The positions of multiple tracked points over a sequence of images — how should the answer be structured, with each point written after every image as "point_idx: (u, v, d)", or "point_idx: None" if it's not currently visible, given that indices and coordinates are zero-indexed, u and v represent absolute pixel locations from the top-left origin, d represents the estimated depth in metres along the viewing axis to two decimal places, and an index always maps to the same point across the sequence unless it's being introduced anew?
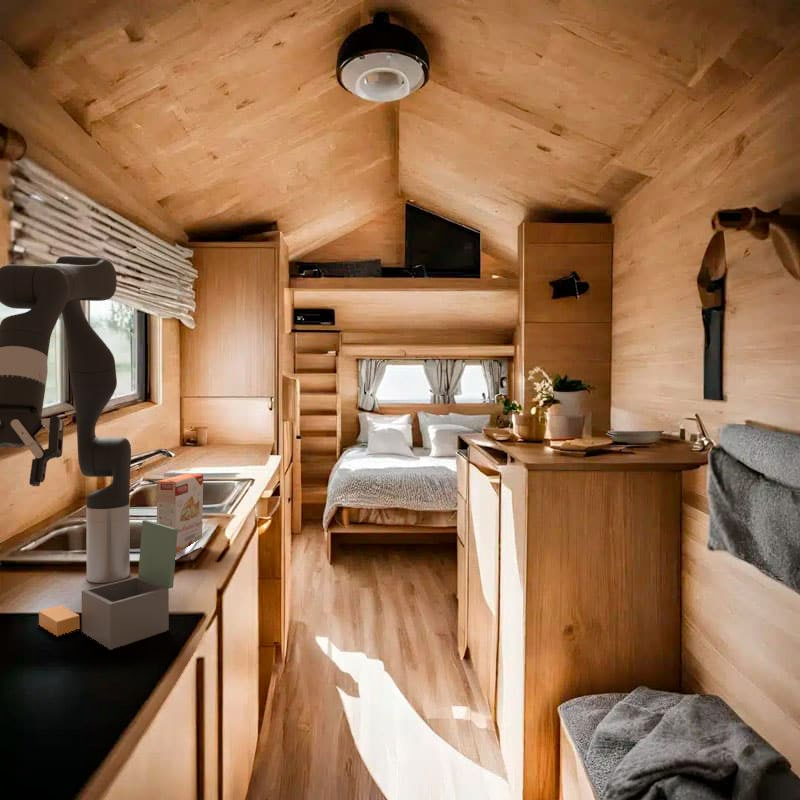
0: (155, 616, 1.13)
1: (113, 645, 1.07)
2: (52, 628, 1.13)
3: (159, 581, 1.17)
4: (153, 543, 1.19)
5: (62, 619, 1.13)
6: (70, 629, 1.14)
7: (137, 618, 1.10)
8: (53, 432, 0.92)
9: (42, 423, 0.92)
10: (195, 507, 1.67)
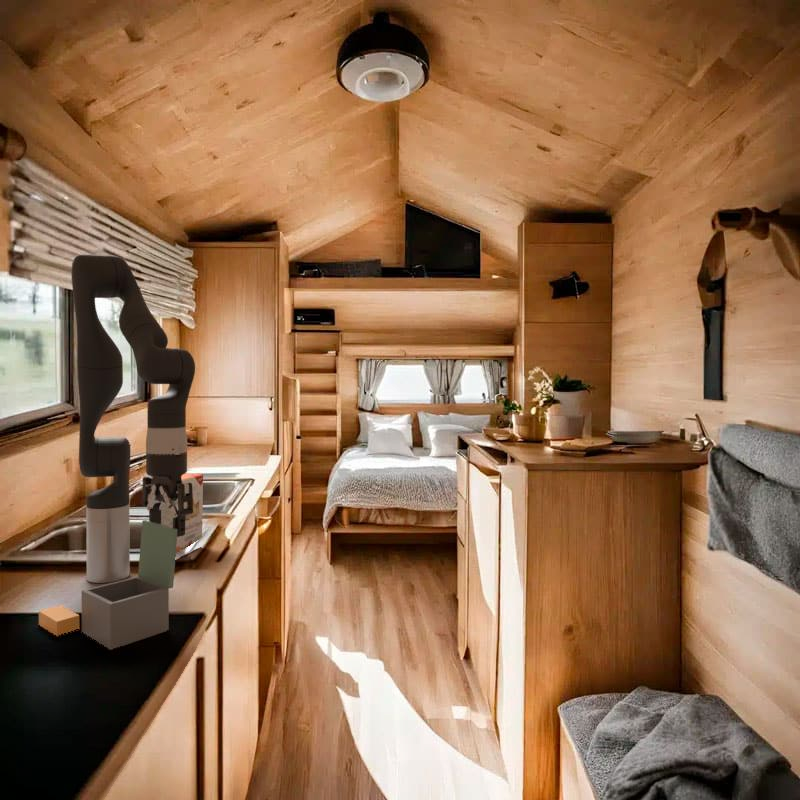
0: (155, 616, 1.13)
1: (113, 645, 1.07)
2: (52, 628, 1.13)
3: (159, 581, 1.17)
4: (153, 543, 1.19)
5: (62, 619, 1.13)
6: (70, 629, 1.14)
7: (137, 618, 1.10)
8: None
9: None
10: (195, 507, 1.67)
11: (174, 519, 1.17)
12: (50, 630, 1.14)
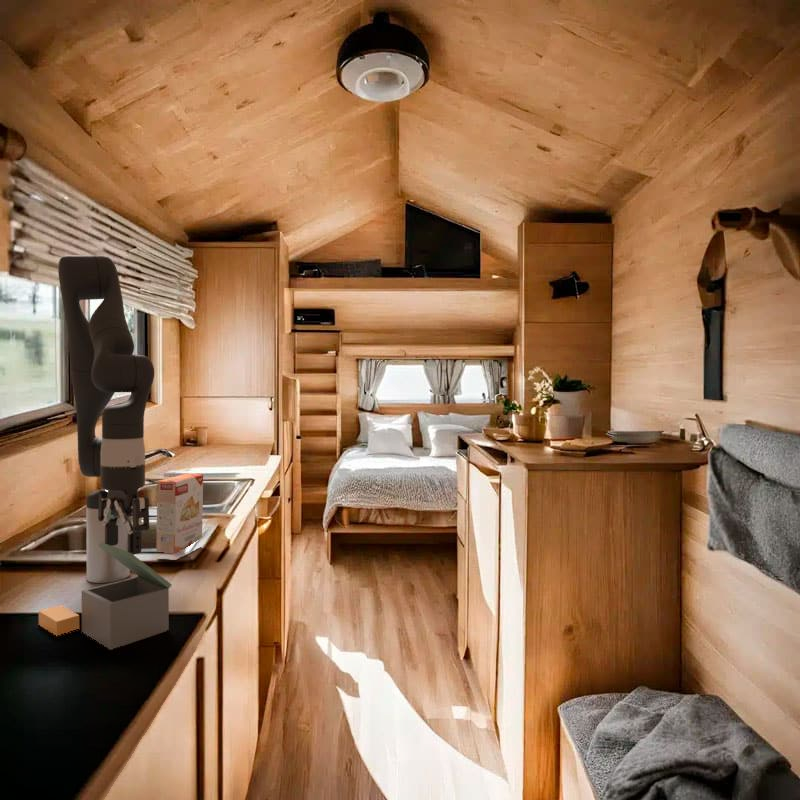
0: (155, 616, 1.13)
1: (113, 645, 1.07)
2: (51, 627, 1.13)
3: (157, 582, 1.17)
4: (124, 561, 1.15)
5: (62, 619, 1.13)
6: (70, 629, 1.14)
7: (137, 618, 1.10)
8: None
9: None
10: (195, 507, 1.67)
11: (129, 536, 1.10)
12: (50, 630, 1.14)
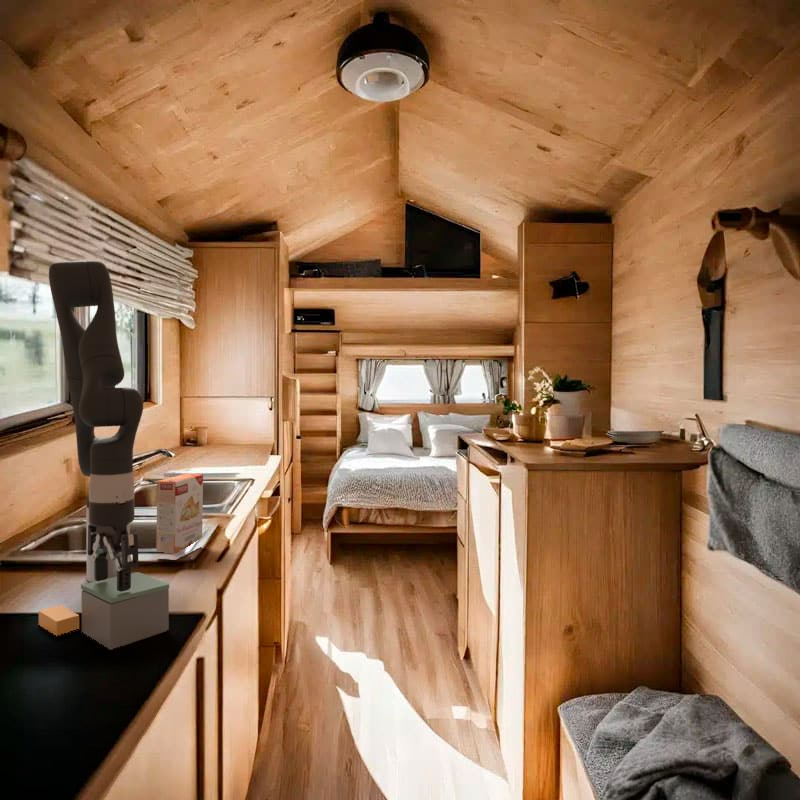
0: (155, 616, 1.13)
1: (113, 645, 1.07)
2: (51, 627, 1.13)
3: None
4: None
5: (62, 619, 1.13)
6: (70, 629, 1.14)
7: (137, 618, 1.10)
8: None
9: None
10: (195, 507, 1.67)
11: (118, 572, 1.09)
12: (50, 630, 1.14)
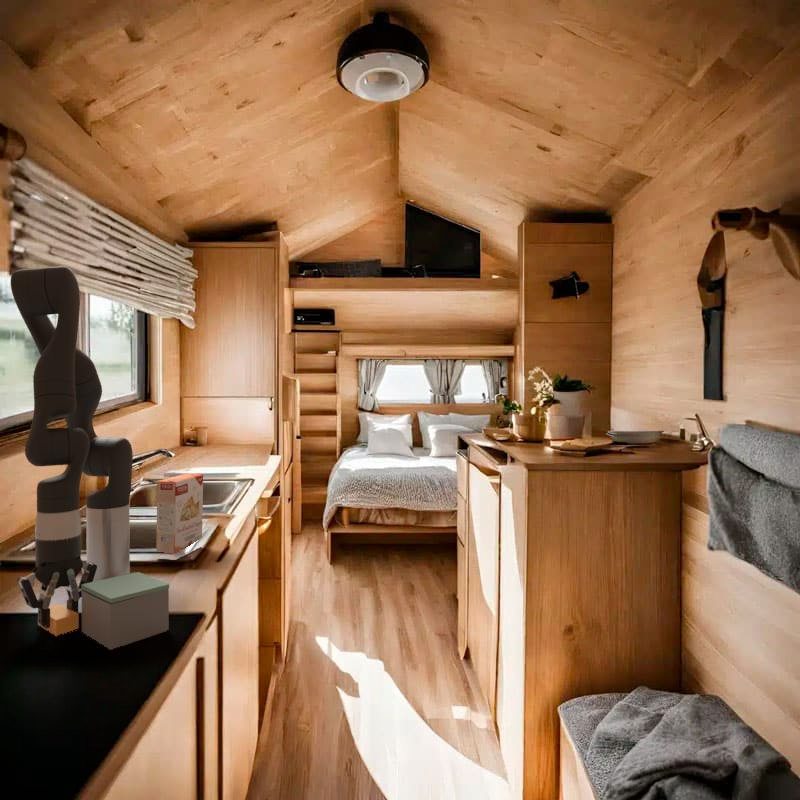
0: (155, 616, 1.13)
1: (113, 645, 1.07)
2: (51, 626, 1.13)
3: None
4: None
5: (61, 617, 1.13)
6: (69, 627, 1.14)
7: (137, 618, 1.10)
8: None
9: None
10: (195, 507, 1.67)
11: (74, 603, 1.17)
12: (49, 629, 1.14)
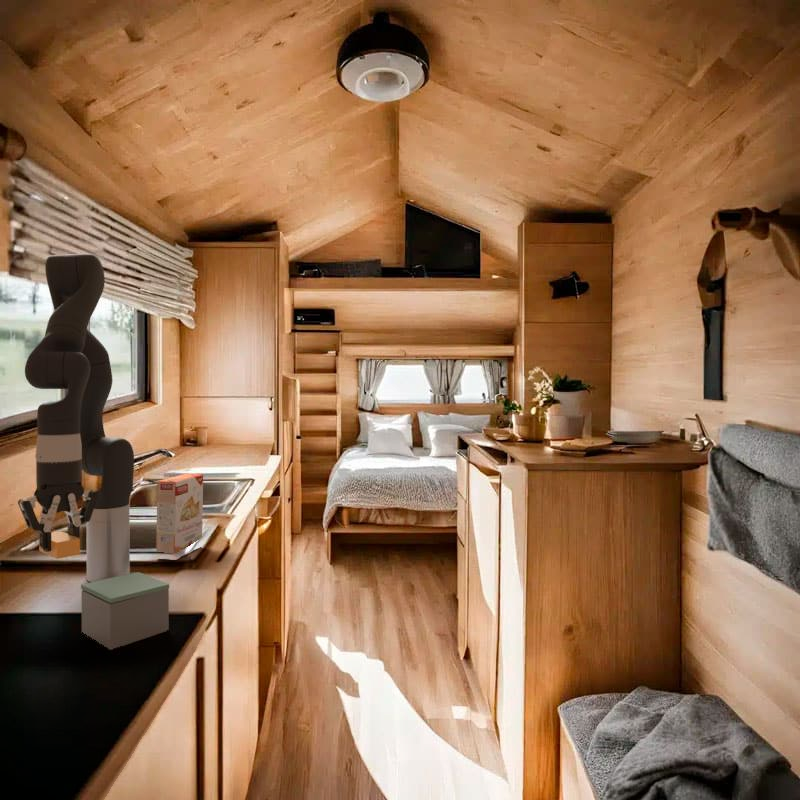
0: (155, 616, 1.13)
1: (113, 645, 1.07)
2: (52, 549, 1.13)
3: None
4: None
5: (62, 541, 1.13)
6: (70, 551, 1.14)
7: (137, 618, 1.10)
8: None
9: None
10: (195, 507, 1.67)
11: (75, 529, 1.17)
12: (50, 552, 1.14)
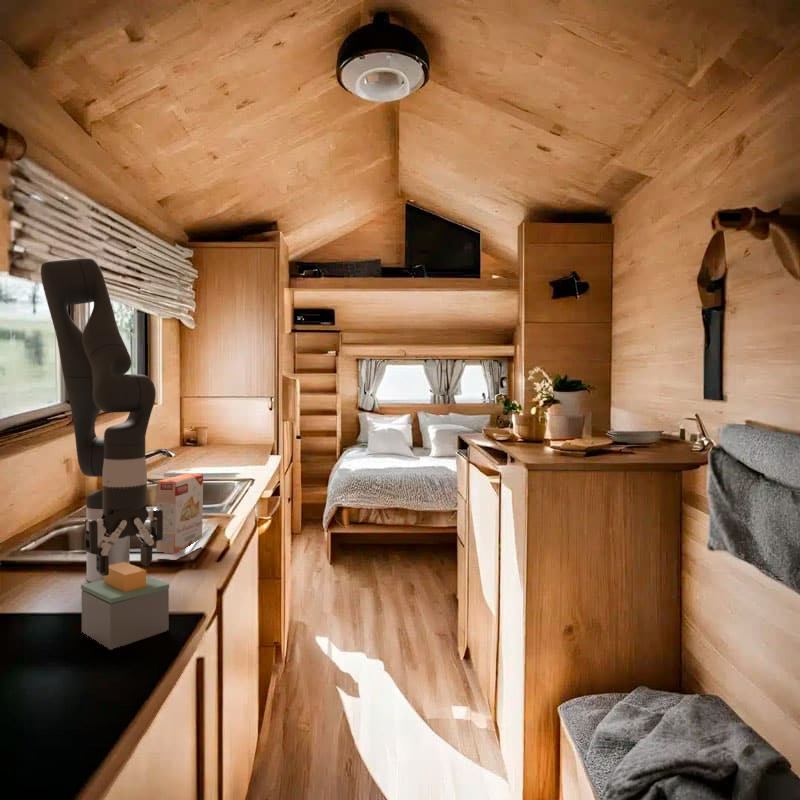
0: (155, 616, 1.13)
1: (113, 645, 1.07)
2: (119, 582, 1.12)
3: None
4: None
5: (130, 573, 1.11)
6: (137, 583, 1.12)
7: (137, 618, 1.10)
8: None
9: None
10: (195, 507, 1.67)
11: (148, 548, 1.17)
12: (117, 584, 1.12)
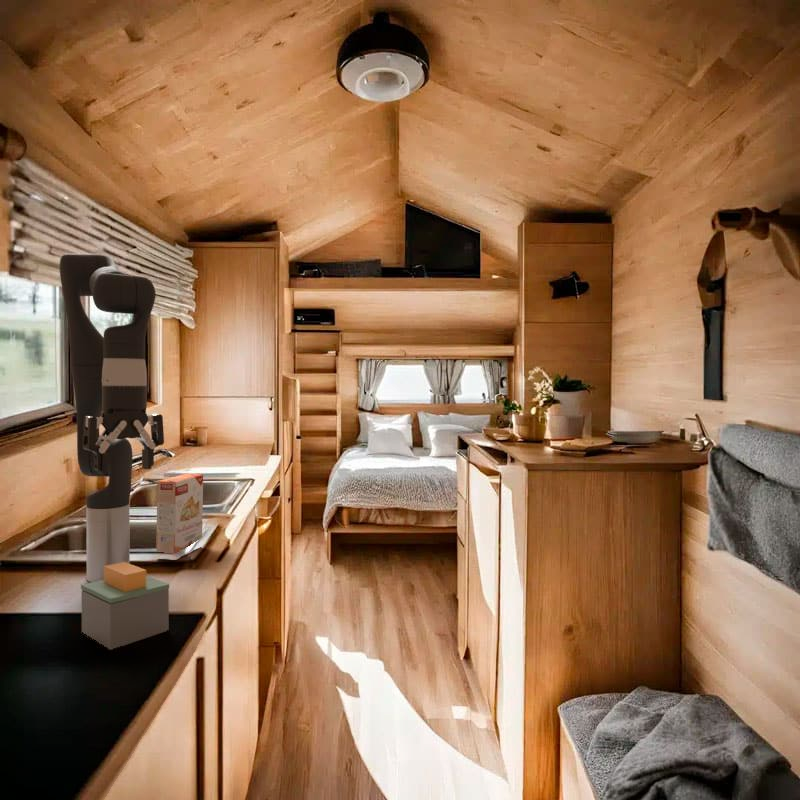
0: (155, 616, 1.13)
1: (113, 645, 1.07)
2: (119, 582, 1.12)
3: None
4: None
5: (130, 573, 1.11)
6: (137, 583, 1.12)
7: (137, 618, 1.10)
8: None
9: None
10: (195, 507, 1.67)
11: (150, 451, 1.16)
12: (117, 584, 1.12)
